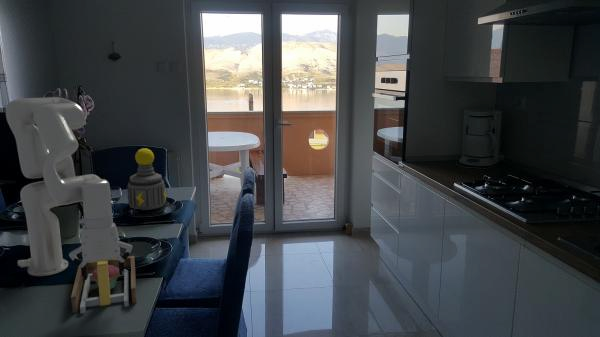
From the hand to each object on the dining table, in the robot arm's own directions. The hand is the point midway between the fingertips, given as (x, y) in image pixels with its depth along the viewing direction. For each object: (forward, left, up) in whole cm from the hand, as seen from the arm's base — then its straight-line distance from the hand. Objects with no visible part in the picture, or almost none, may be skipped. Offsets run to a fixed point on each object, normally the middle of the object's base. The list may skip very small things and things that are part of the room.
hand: (103, 275), depth 136 cm
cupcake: (0, +11, -9) cm, 15 cm away
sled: (0, +7, -9) cm, 12 cm away
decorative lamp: (+16, +100, -9) cm, 102 cm away
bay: (0, +10, -9) cm, 13 cm away
